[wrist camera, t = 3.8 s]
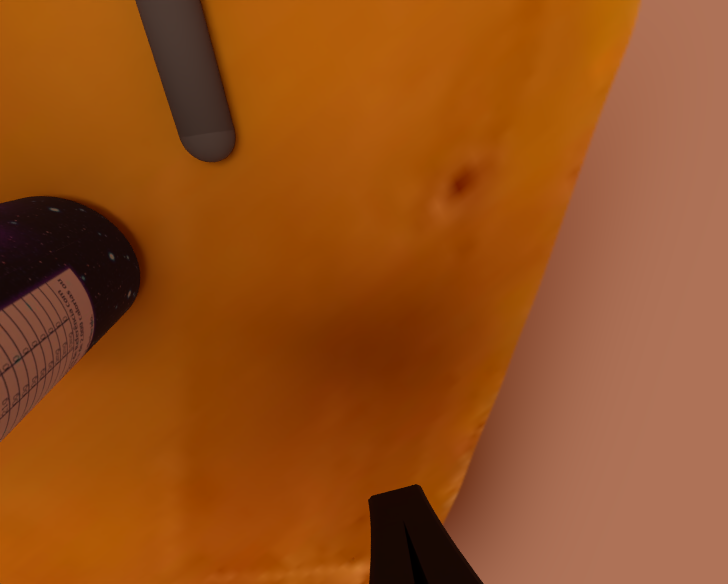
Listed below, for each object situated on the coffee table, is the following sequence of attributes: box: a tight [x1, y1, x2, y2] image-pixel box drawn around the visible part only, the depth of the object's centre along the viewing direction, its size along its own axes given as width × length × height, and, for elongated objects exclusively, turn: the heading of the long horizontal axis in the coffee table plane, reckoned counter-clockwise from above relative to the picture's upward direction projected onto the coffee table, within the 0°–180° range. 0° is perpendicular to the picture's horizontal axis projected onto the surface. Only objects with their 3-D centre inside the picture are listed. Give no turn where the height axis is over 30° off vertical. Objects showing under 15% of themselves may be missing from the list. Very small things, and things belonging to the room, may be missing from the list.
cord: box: [135, 0, 235, 162], centre depth 13 cm, size 2×10×2 cm, turn 9°
